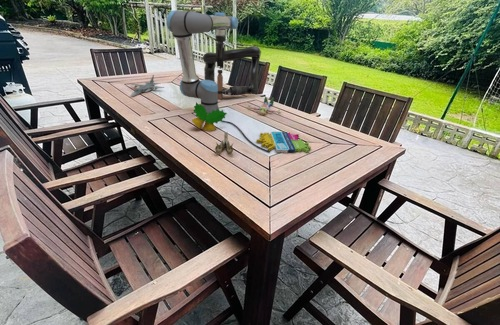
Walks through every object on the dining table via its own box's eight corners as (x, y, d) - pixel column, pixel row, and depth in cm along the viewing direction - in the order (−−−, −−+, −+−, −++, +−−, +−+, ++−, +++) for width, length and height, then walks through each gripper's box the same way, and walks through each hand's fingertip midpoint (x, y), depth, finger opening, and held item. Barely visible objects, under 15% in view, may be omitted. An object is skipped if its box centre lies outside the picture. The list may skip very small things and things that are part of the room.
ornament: (218, 133, 171) (224, 110, 169) (221, 134, 163) (227, 111, 161) (186, 125, 162) (192, 101, 160) (189, 126, 155) (195, 101, 153)
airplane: (124, 86, 238) (122, 75, 233) (160, 84, 251) (158, 74, 246) (129, 99, 209) (126, 86, 204) (168, 96, 223) (167, 84, 217)
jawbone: (234, 135, 144) (233, 125, 135) (233, 160, 138) (232, 151, 129) (217, 135, 144) (216, 125, 135) (216, 160, 138) (214, 150, 129)
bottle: (220, 99, 222) (220, 71, 210) (216, 98, 224) (216, 70, 213) (223, 98, 225) (224, 70, 214) (219, 97, 227) (219, 70, 216)
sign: (313, 150, 142) (258, 149, 139) (312, 153, 143) (258, 152, 140) (301, 132, 164) (254, 130, 161) (301, 134, 165) (254, 133, 162)
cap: (220, 73, 212) (220, 70, 211) (216, 72, 214) (216, 70, 212) (223, 73, 214) (223, 70, 213) (219, 72, 216) (219, 69, 215)
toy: (286, 98, 212) (281, 108, 186) (285, 107, 216) (280, 118, 190) (253, 94, 217) (244, 103, 191) (252, 103, 221) (243, 112, 195)
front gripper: (211, 34, 206) (211, 65, 218) (220, 36, 192) (219, 69, 203) (220, 34, 209) (220, 64, 221) (229, 36, 195) (228, 69, 206)
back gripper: (232, 84, 231) (214, 85, 224) (238, 88, 220) (219, 89, 213) (232, 93, 234) (214, 94, 228) (238, 97, 223) (219, 98, 217)
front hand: (220, 67), depth 212 cm, fingers open, 6 cm apart
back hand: (216, 91), depth 220 cm, fingers closed on bottle, 4 cm apart
